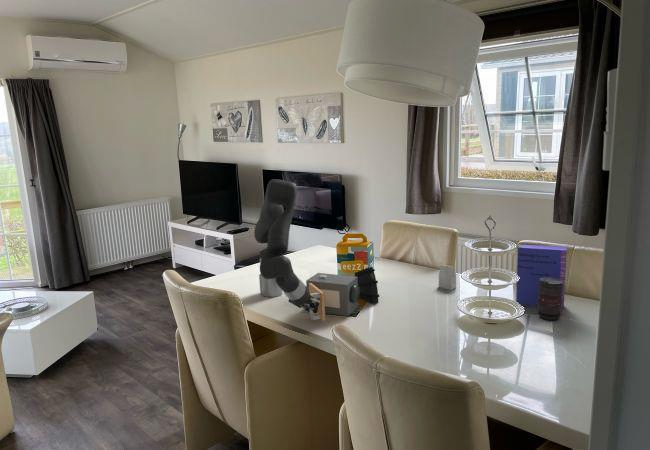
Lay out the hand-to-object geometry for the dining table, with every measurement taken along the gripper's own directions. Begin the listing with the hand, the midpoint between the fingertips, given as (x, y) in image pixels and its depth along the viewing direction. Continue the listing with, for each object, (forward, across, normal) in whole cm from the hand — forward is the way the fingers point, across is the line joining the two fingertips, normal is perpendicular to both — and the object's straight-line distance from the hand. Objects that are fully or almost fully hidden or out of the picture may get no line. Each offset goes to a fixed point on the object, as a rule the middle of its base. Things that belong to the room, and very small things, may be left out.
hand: (313, 310), depth 195 cm
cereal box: (+39, -77, -29) cm, 91 cm away
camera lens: (+29, -81, -19) cm, 88 cm away
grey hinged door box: (+15, 0, -8) cm, 17 cm away
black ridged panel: (+26, -9, -18) cm, 33 cm away
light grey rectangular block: (+45, -38, -37) cm, 69 cm away
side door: (+5, +3, 0) cm, 5 cm away
